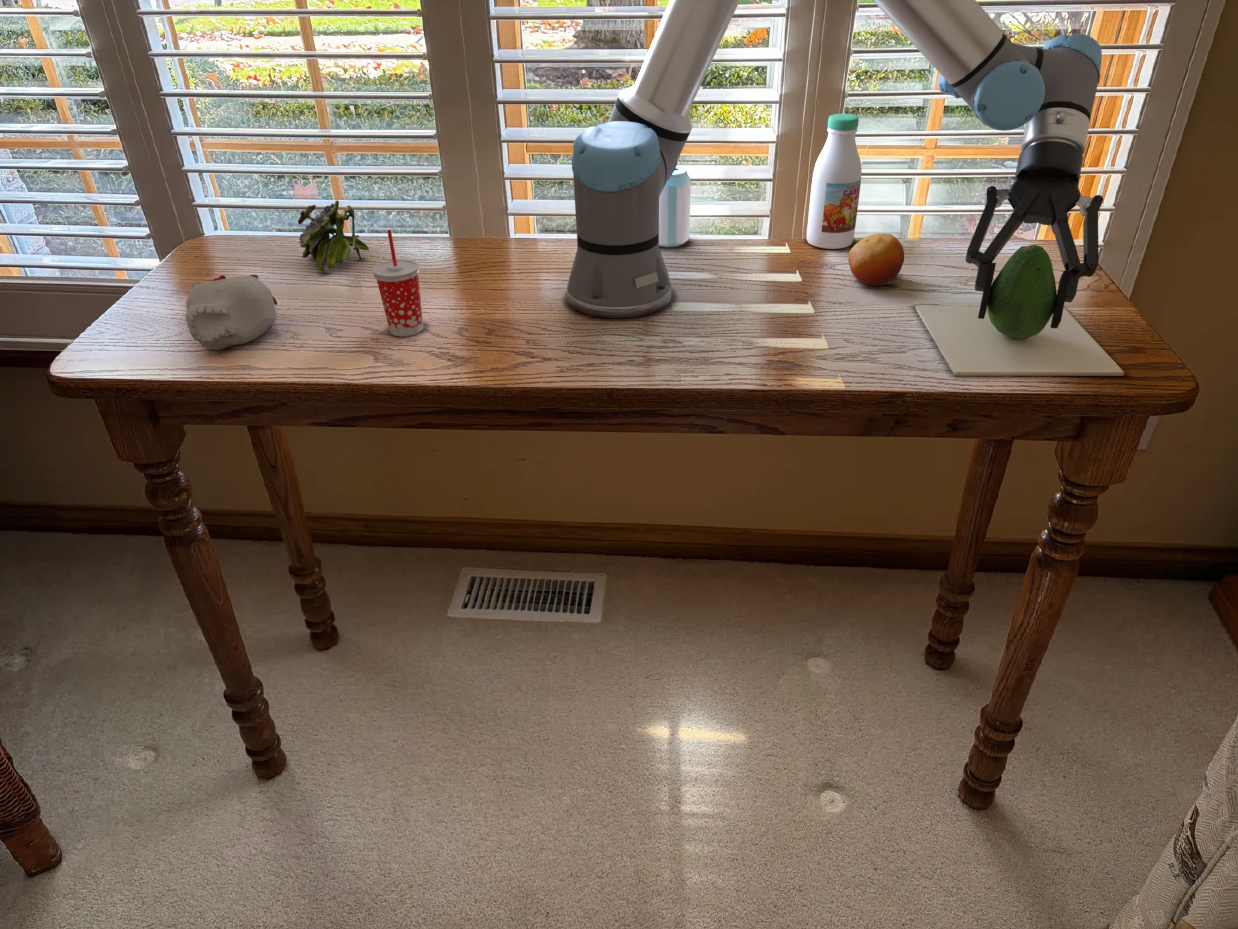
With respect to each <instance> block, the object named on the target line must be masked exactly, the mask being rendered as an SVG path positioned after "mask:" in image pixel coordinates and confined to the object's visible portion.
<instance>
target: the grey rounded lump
mask: <svg viewBox="0 0 1238 929" xmlns="http://www.w3.org/2000/svg"><path fill="white" fill-rule="evenodd" d="M185 305H186V312H185V321H186V325H187V327H188V332H189V334H190V336H191V337H192V340H194V341H196V342H198V344H200V345H201V347H204V348H206V349H209V350H211V351H222V350H224V349H227V348H229V347H232V346H236V345H245V344H247V343H249V342H252V341H254V340H256V339H257V338H259V337H261V336H262V335H263V334H264V333H265V332H266V331H268V330H270V329H272V326H273V325H274V324H275V322H276V320H277V315H278V313H277V310H276V306H277V305H278V301H277V300H276V298H275V297H274V295H273V294H272V291H271V289H270V288H269V286H268V285H266V283H264V282H262V281H260V279H259V276H258V274H250V275H237V276H232V277H226V276H225V275H223V274H221V275H220V276H218V277H215V278H213V279H212V280H210V281H209V280H208V281H205V282H200V283H194V284H192V286H191V289H190V292H189V294H188V296H187V298H186V302H185Z"/></svg>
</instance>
